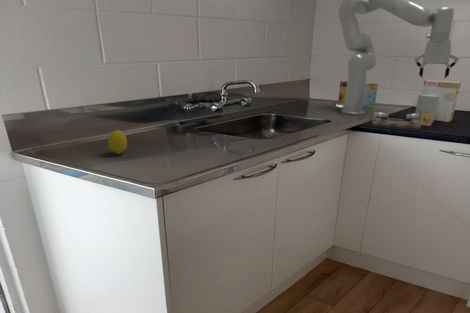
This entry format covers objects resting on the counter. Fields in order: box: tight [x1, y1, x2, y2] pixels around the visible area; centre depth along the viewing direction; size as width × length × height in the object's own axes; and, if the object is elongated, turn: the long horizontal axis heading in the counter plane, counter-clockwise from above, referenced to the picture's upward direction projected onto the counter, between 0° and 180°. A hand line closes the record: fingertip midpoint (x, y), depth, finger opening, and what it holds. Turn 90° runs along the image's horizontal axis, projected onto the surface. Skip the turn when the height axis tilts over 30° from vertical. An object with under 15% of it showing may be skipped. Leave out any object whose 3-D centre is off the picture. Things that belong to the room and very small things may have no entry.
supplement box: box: [414, 93, 439, 123], centre depth 170 cm, size 7×7×13 cm
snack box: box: [337, 80, 379, 109], centre depth 205 cm, size 21×6×15 cm, turn 66°
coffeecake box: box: [421, 78, 462, 123], centre depth 172 cm, size 15×7×20 cm, turn 47°
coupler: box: [419, 111, 434, 127], centre depth 162 cm, size 6×5×6 cm
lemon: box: [107, 129, 128, 155], centre depth 107 cm, size 6×6×8 cm
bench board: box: [370, 118, 422, 130], centre depth 160 cm, size 20×10×1 cm, turn 74°
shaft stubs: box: [372, 111, 421, 125], centre depth 160 cm, size 20×8×6 cm, turn 74°
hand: (433, 77), depth 155 cm, fingers open, 9 cm apart
